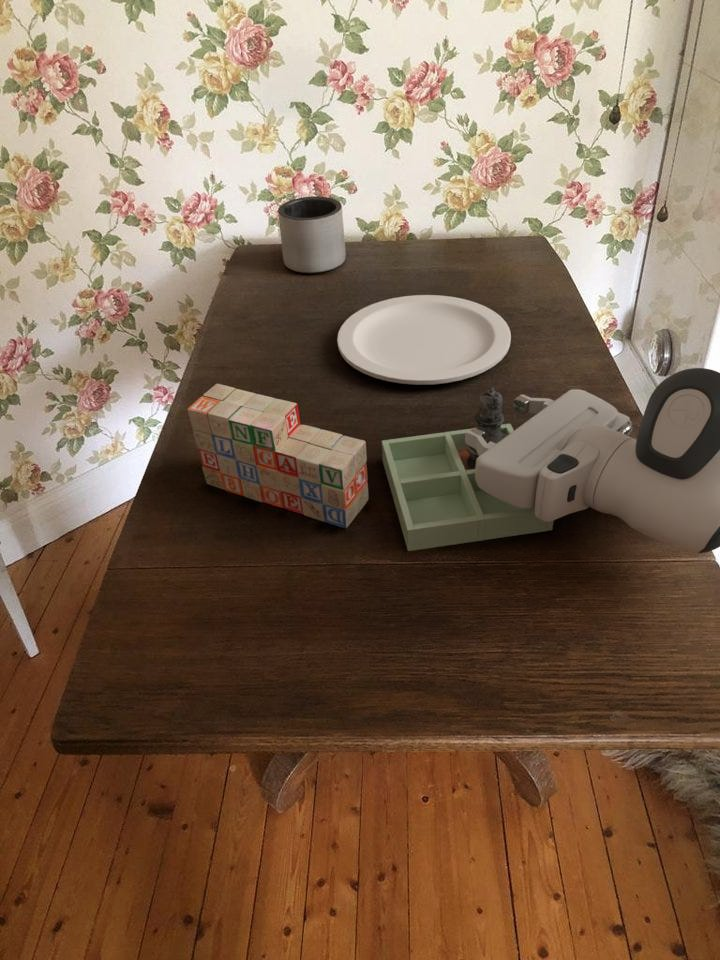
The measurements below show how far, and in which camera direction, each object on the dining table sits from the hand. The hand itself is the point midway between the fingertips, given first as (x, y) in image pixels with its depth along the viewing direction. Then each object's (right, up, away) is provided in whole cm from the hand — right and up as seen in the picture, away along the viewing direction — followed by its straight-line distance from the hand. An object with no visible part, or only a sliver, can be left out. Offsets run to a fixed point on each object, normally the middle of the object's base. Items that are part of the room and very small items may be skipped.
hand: (493, 417), depth 92 cm
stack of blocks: (-26, -9, +5) cm, 28 cm away
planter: (-25, +36, +59) cm, 74 cm away
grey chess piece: (0, -6, +6) cm, 8 cm away
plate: (-6, +14, +31) cm, 35 cm away
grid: (-3, -9, +3) cm, 10 cm away
